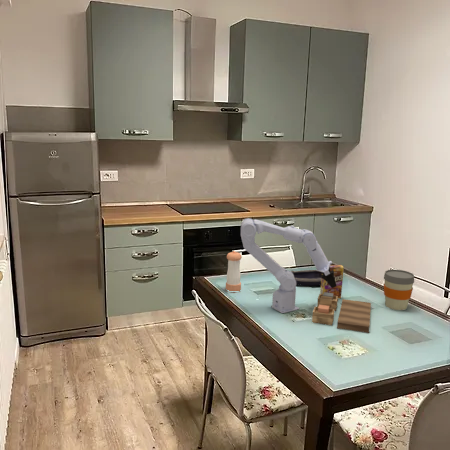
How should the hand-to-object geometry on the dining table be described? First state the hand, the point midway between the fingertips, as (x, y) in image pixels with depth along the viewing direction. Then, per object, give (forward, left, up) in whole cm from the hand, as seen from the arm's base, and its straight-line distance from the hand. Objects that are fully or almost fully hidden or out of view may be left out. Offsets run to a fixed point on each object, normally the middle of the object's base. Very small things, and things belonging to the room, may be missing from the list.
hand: (332, 283), depth 197 cm
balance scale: (-5, -2, -12) cm, 13 cm away
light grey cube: (+1, +3, -9) cm, 9 cm away
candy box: (+10, +11, -12) cm, 19 cm away
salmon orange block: (-11, -7, -9) cm, 16 cm away
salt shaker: (-24, +41, -12) cm, 48 cm away
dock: (+3, -11, -12) cm, 16 cm away
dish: (+18, +31, -12) cm, 38 cm away
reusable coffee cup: (+28, -11, -12) cm, 33 cm away
